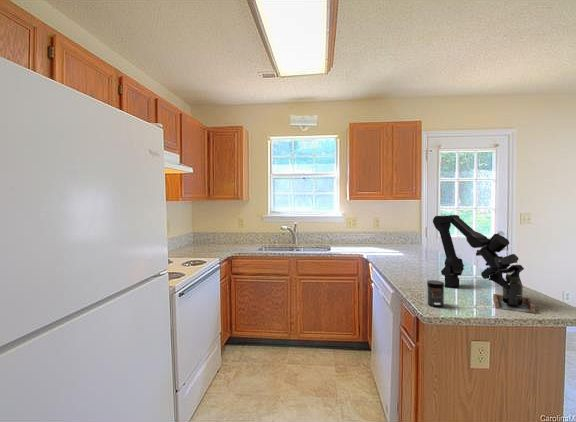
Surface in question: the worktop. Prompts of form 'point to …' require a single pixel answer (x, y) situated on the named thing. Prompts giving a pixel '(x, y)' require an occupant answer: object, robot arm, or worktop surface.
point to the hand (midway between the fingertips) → (515, 288)
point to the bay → (525, 307)
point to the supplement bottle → (513, 291)
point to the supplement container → (435, 293)
